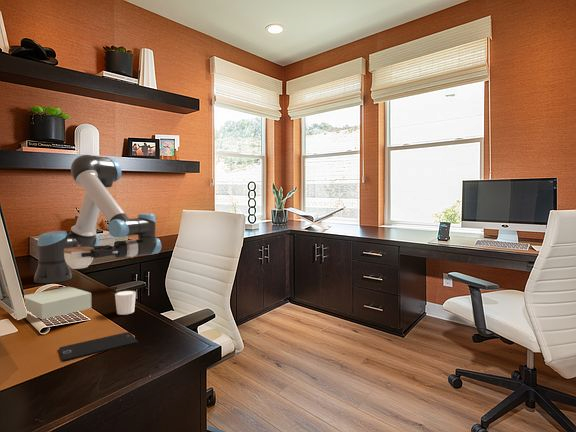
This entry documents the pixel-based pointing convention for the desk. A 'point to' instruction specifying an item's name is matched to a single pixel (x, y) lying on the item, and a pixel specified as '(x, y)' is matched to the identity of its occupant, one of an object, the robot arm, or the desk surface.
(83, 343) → the cell phone
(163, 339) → the desk surface
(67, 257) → the lidded jar
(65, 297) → the sage box
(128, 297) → the white tapered cup
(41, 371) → the desk surface
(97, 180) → the robot arm
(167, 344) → the desk surface
